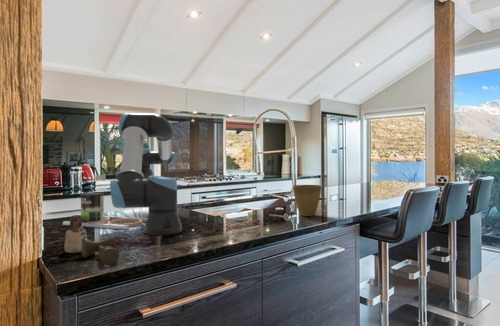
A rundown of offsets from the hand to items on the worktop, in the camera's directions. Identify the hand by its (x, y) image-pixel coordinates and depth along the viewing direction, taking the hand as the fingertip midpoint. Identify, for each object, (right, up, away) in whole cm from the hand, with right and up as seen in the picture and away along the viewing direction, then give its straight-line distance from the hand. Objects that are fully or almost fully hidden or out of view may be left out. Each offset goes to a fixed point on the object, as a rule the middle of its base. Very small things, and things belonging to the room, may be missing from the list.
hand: (106, 178), depth 176 cm
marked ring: (+15, -21, -15) cm, 30 cm away
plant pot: (+104, -20, +6) cm, 106 cm away
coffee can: (-3, -21, -9) cm, 23 cm away
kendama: (+27, -22, -68) cm, 76 cm away
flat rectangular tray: (+6, -21, -12) cm, 25 cm away
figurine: (+15, -22, -59) cm, 65 cm away
